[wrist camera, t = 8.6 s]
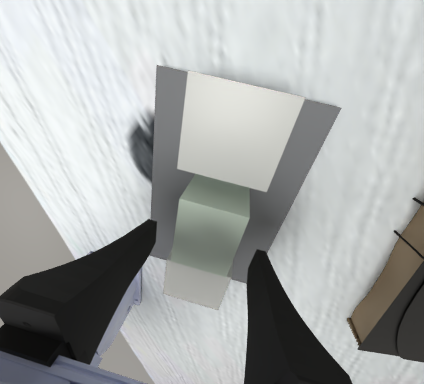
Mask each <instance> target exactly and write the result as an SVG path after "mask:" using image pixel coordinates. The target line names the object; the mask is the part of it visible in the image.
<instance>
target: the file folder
mask: <svg viewBox="0 0 424 384" xmlns="http://www.w3.org/2000/svg"><path fill="white" fill-rule="evenodd" d="M413 200H415V201H416V202H418V203H419V204H421V207H420V209H419V210H418V211H417V213H416V214H415V216H414V217H413V219H412V220H411V222H410V223H409V225H408V226H407V227H406V229H405V230H404V231H403V233H402V234H401V235H400V234H399V233H398V232H397V231H394V232H395V233H396V234H397V235H398V236H399V237H400V238H399V239H398V241H397V243H396V244H395V246H394V249H393V251H392V253H391V255H390V258H389V260H388V262H387V264H386V266H385V268H384V270H383V272H382V273H381V275H380V276H379V278H378V280H377V281H376V283H375V284H374V286H373V288H372V289H371V291H370V292H369V293H368V295H367V296H366V297H365V298H364V299H363V300H362V301H361V302H360V303H359V305H358V306H357V307H356V309H355V310H354V312H353V314H352V317H351V318H347V321H348V322H349V323H348V324H350V326H349V327H350V329H352V331H353V332H352V333H353V335H354V337H355V339H357V340H356V342H358V345H359V347H358V350H363V351H369V352H375V353H382V354H388V355H395V356H400V357H401V358H403V359H407V360H412V361H418V362H424V202H421V201H420V200H418V199H416V198H413Z"/></svg>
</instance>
